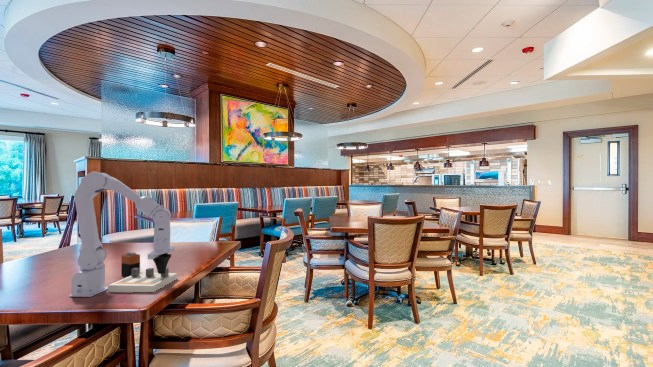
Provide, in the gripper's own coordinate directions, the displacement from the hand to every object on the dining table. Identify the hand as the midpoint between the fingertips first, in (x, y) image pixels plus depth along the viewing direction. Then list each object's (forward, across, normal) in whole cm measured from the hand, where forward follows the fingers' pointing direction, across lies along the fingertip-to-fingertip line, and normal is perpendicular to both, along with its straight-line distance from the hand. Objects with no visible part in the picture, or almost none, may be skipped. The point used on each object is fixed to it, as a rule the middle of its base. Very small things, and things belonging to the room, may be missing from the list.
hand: (161, 273), depth 118 cm
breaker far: (+2, +2, +12) cm, 12 cm away
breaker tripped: (+1, +2, 0) cm, 2 cm away
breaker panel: (+4, -1, +6) cm, 7 cm away
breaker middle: (+1, +2, +6) cm, 6 cm away
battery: (+5, +11, +20) cm, 23 cm away
